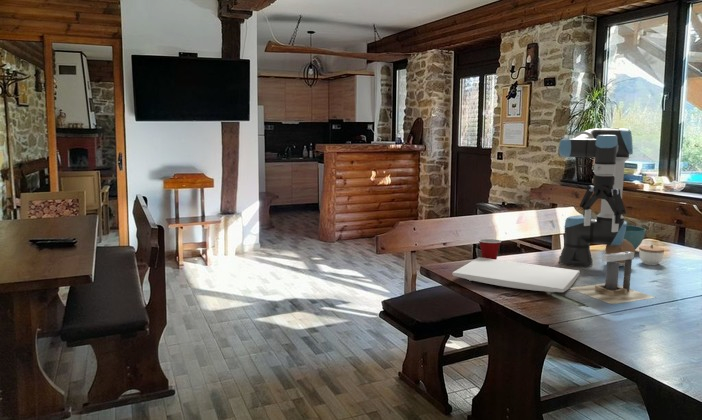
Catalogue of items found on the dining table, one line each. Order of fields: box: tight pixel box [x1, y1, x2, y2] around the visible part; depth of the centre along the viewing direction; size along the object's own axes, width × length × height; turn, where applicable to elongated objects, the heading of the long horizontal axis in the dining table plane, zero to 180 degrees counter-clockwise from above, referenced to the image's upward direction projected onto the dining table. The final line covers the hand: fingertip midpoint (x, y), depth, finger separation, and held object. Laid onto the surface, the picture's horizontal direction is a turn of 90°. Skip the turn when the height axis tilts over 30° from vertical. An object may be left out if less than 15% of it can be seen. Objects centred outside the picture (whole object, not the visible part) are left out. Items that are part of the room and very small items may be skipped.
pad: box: [551, 292, 587, 307], centre depth 214 cm, size 14×9×1 cm, turn 22°
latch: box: [601, 251, 635, 263], centre depth 217 cm, size 4×14×2 cm, turn 112°
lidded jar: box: [638, 244, 665, 266], centre depth 268 cm, size 11×11×9 cm
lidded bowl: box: [604, 239, 636, 267], centre depth 264 cm, size 13×13×11 cm
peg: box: [604, 261, 620, 290], centre depth 217 cm, size 4×4×12 cm
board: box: [452, 256, 580, 295], centre depth 239 cm, size 45×32×5 cm
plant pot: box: [624, 224, 647, 250], centre depth 296 cm, size 18×18×12 cm
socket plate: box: [568, 259, 656, 305], centre depth 217 cm, size 22×22×14 cm
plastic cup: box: [478, 238, 502, 260], centre depth 267 cm, size 11×11×12 cm
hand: (600, 228), depth 220 cm, fingers open, 13 cm apart
